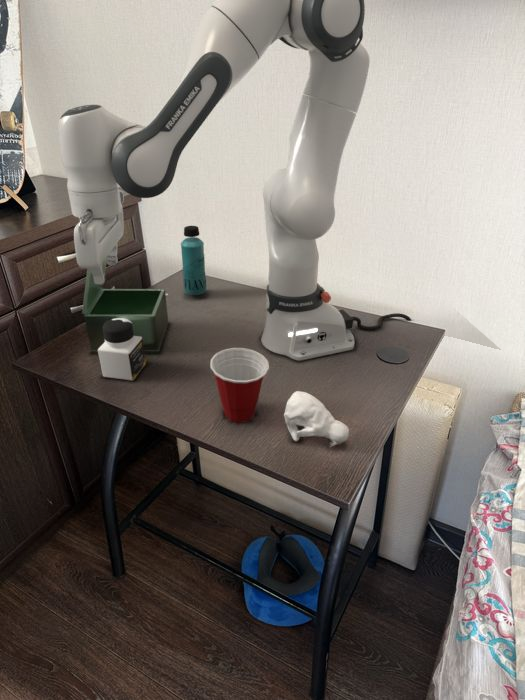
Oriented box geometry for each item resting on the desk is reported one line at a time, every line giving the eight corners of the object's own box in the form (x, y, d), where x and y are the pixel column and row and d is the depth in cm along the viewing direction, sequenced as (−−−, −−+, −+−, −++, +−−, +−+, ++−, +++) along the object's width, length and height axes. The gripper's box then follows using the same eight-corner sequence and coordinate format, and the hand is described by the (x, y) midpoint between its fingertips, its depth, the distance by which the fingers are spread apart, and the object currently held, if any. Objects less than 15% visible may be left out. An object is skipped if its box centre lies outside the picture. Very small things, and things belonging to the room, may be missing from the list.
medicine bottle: (133, 381, 107) (125, 332, 100) (102, 377, 108) (92, 328, 102) (146, 363, 113) (139, 316, 106) (117, 360, 114) (108, 313, 108)
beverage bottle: (181, 299, 141) (175, 230, 131) (188, 289, 147) (182, 222, 137) (203, 301, 140) (199, 231, 130) (209, 291, 146) (206, 224, 136)
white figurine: (296, 381, 92) (359, 403, 88) (290, 416, 96) (350, 438, 93) (282, 399, 87) (348, 424, 83) (277, 435, 91) (339, 460, 88)
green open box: (168, 323, 129) (164, 288, 124) (158, 353, 116) (154, 316, 111) (108, 323, 129) (101, 288, 124) (91, 353, 116) (84, 315, 111)
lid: (111, 224, 115) (89, 218, 115) (93, 246, 103) (69, 239, 102) (103, 287, 123) (82, 282, 123) (85, 314, 111) (62, 309, 110)
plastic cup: (250, 439, 91) (250, 385, 85) (201, 420, 96) (198, 368, 89) (278, 407, 99) (279, 356, 93) (232, 391, 104) (230, 341, 97)
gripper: (97, 220, 83) (109, 295, 90) (125, 190, 101) (133, 255, 108) (59, 219, 83) (74, 295, 90) (94, 189, 101) (104, 255, 108)
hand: (106, 273), depth 99 cm, fingers open, 8 cm apart
